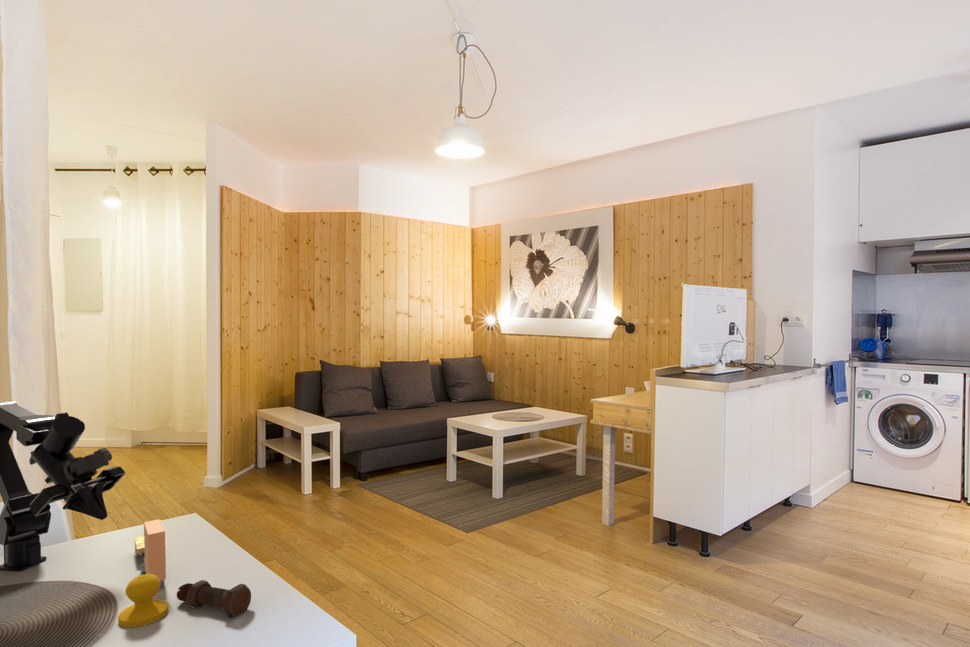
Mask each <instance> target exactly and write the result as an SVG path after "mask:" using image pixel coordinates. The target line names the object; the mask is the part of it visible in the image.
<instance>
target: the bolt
mask: <svg viewBox="0 0 970 647" xmlns="http://www.w3.org/2000/svg"><path fill="white" fill-rule="evenodd" d="M177 590H178V591H176V599H177V600H179V601H182V602H186V603H187V604H188V606H190V608H192V607H193V609H196V608H197V609H199V607H200V608H201V607H203V606H208V607H214V608H219V609H222V610H223V611H224V612H225V613H226V615H227V617H228V618H233V619H235V618H237V617H240V616H241V615H243V614H244V613H246V611H247V610H248V608H249V606H250V604H251V601H252V592H251V589H250V588H249V586H247V585H246V584H244V583H238V584H236V585H235V586H234V587H232V588H231V589H228V588H227V589H225V588H220V587H215V586H214V587H213V586H212V585H211V584H210V582H208V580H203V579H202V580H199V581H197V582H194V583H190V582H188V583H185V584H182V585H181V586H179V587H178V589H177Z"/></svg>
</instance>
